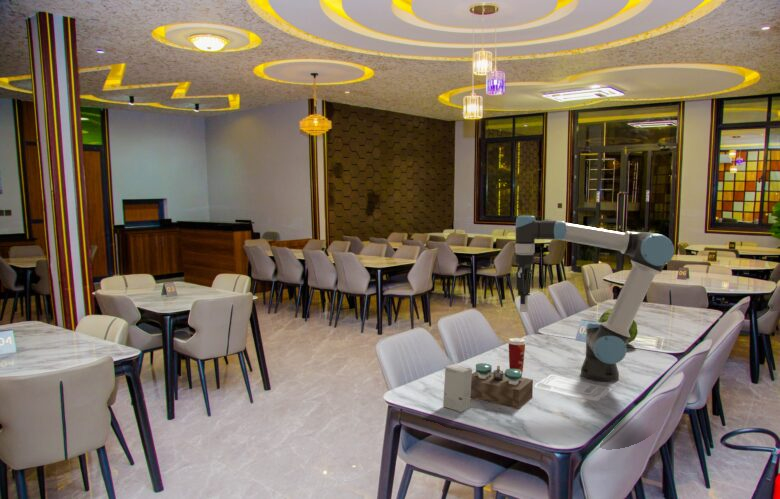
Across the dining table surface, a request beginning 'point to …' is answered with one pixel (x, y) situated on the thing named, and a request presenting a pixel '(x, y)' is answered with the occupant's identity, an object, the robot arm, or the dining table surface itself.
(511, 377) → the green capped bottle
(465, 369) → the skincare box
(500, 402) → the mount
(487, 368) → the knob
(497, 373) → the potentiometer
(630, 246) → the robot arm
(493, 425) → the dining table surface
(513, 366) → the paper cup
